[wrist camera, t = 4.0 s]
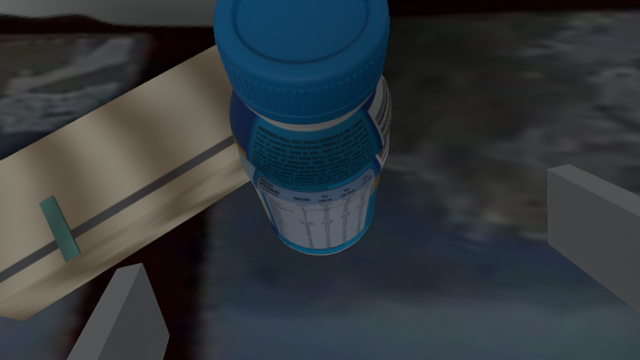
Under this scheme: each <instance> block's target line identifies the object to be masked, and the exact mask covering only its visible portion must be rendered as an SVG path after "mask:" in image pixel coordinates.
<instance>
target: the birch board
mask: <svg viewBox="0 0 640 360" xmlns="http://www.w3.org/2000/svg"><path fill="white" fill-rule="evenodd" d="M232 90H233V88H232V86H231V83H230V81H229V78H228V76H227V73H226V71H225V68H224V66H223V63H222V60H221V57H220V54H219V52H218V49H217V45H215V46H213V47H211V48H209V49H207V50H205V51H203V52H202V53H200V54H198V55H196V56H194V57H192V58H190V59H189V60H187V61H185V62H183V63H181V64H179V65H177V66H176V67H174V68H172V69H170V70H168V71H166V72H164V73H163V74H161V75H159V76H157V77H155V78H153V79H152V80H150V81H148V82H146V83H144V84H142V85H140V86H139V87H137V88H135V89H133V90H131V91H129V92H127V93H126V94H124V95H122V96H120V97H118V98H116V99H114V100H113V101H111V102H109V103H107V104H105V105H103V106H101V107H100V108H98V109H96V110H94V111H92V112H90V113H88V114H87V115H85V116H83V117H81V118H79V119H77V120H76V121H74V122H72V123H70V124H68V125H66V126H64V127H63V128H61V129H59V130H57V131H55V132H53V133H51V134H50V135H48V136H46V137H44V138H42V139H40V140H38V141H37V142H35V143H33V144H31V145H29V146H27V147H25V148H24V149H22V150H20V151H18V152H16V153H14V154H12V155H11V156H9V157H7V158H5V159H3V160H1V161H0V316H4V317H8V318H13V319H17V320H22V321H25V320H27V319H28V318H30V317H31V316H33V315H35V314H36V313H38V312H39V311H41V310H43V309H44V308H46V307H47V306H49V305H51V304H52V303H54V302H55V301H57V300H59V299H60V298H62V297H63V296H65V295H67V294H68V293H70V292H72V291H73V290H75V289H76V288H78V287H80V286H81V285H83V284H84V283H86V282H88V281H89V280H91V279H92V278H94V277H96V276H97V275H99V274H100V273H102V272H104V271H105V270H107V269H108V268H110V267H112V266H113V265H115V264H117V263H118V262H120V261H121V260H123V259H125V258H126V257H128V256H129V255H131V254H133V253H134V252H136V251H137V250H139V249H141V248H142V247H144V246H145V245H147V244H149V243H150V242H152V241H153V240H155V239H157V238H158V237H160V236H161V235H163V234H165V233H166V232H168V231H170V230H171V229H173V228H174V227H176V226H178V225H179V224H181V223H182V222H184V221H186V220H187V219H189V218H190V217H192V216H194V215H195V214H197V213H198V212H200V211H202V210H203V209H205V208H206V207H208V206H210V205H211V204H213V203H215V202H216V201H218V200H219V199H221V198H223V197H224V196H226V195H227V194H229V193H231V192H232V191H234V190H235V189H237V188H239V187H240V186H242V185H243V184H245V183H247V182H248V181H250V179H249V177H248V176H247V174H246V172H245V170H244V168H243V165H242V163H241V159H240V156H239V151H238V146H237V145H236V142H235V140H234V138H233V135H232V131H231V126H230V117H229V110H230V100H231V95H232Z"/></svg>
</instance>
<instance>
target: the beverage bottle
mask: <svg viewBox="0 0 640 360" xmlns="http://www.w3.org/2000/svg"><path fill="white" fill-rule="evenodd" d="M389 19H390V16H389V10H388V3H387V0H217V2H216V6H215V10H214V18H213V25H214V33H215V35H214V37H215V40H216V41H215V43H216V45H217V49H218V52H219V54H220V57H221V60H222V63H223V66H224V68H225V71H226V73H227V76H228V78H229V81H230V83H231V86H232V88H233V90H232V95H231V100H230V110H229V117H230V126H231V131H232V135H233V138H234V140H235V142H236V145H237V146H238V151H239V156H240V159H241V163H242V165H243V168H244V170H245V172H246V174H247V176H248V177H249V179H250V180H251V182H252V183H253V184H254V186H255V188H256V191H257V193H258V195H259V197H260V200H261V202H262V204H263V207H264V209H265V211H266V214H267V217H268V220H269V223H270V225H271V227H272V229H273V230H274V232H275V233H276V235H277V236H278V237H279V238H280V239H281V240H282V241H283V242H284V243H285V244H287V245H288V246H289V247H291V248H293V249H295V250H297V251H299V252H302V253H306V254H311V255H328V254H333V253H337V252H340V251H342V250H344V249H346V248H348V247H350V246H351V245H353V244H354V243H355V242H357V241H358V240H359V239H360V238H361V237H362V235H363V234H364V233H365V232H366V230H367V228H368V227H369V225H370V222H371V220H372V217H373V212H374V207H375V197H376V193H377V188H378V183H379V178H380V174H381V171H382V169H383V167H384V164H385V162H386V158H387V155H388V149H389V131H390V127H391V122H392V102H391V96H390V92H389V89H388V86H387V83H386V81H385V78H384V76H383V74H382V72H383V68H384V62H385V57H386V51H387V43H388V36H389V29H390V28H389V26H390V21H389Z"/></svg>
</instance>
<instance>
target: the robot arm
mask: <svg viewBox="0 0 640 360" xmlns="http://www.w3.org/2000/svg"><path fill="white" fill-rule="evenodd" d="M547 209H548V244H549V245H551V246H552V247H553V248H555V249H556V250H557V251H559V252H560V253H561V254H562V255H564V256H565V257H566V258H568V259H569V260H570V261H572V262H573V263H574V264H576V265H577V266H578V267H580V268H581V269H582V270H584V271H585V272H586V273H587V274H589V275H590V276H591V277H593V278H594V279H595V280H597V281H598V282H599V283H601V284H602V285H603V286H605V287H606V288H607V289H609V290H610V291H611V292H612V293H614V294H615V295H616V296H618V297H619V298H620V299H622V300H623V301H624V302H626V303H627V304H628V305H630V306H631V307H632V308H633V309H635V310H636V311H637V312H639V313H640V196H638V195H636V194H634V193H631V192H629V191H627V190H625V189H623V188H620V187H618V186H616V185H614V184H612V183H609V182H607V181H605V180H603V179H601V178H599V177H596V176H594V175H592V174H590V173H588V172H585V171H583V170H581V169H579V168H577V167H574V166H572V165H570V164H568V165H563V166H559V167H555V168H550V169H547ZM168 339H169V333H168V330H167V327H166V325H165V322H164V319H163V317H162V314H161V311H160V309H159V306H158V303H157V301H156V298H155V295H154V293H153V290H152V287H151V285H150V282H149V279H148V277H147V274H146V271H145V269H144V266H143V263H140V264H136V265H132V266H127V267H123V268H119V269H117V270H116V272H115V274H114V276H113V277H112V279H111V281H110V283H109V285H108V286H107V288H106V290H105V292H104V294H103V295H102V297H101V299H100V301H99V303H98V304H97V306H96V308H95V310H94V312H93V313H92V315H91V317H90V319H89V321H88V322H87V324H86V326H85V328H84V330H83V331H82V333H81V335H80V337H79V339H78V340H77V342H76V344H75V346H74V348H73V349H72V351H71V353H70V355H69V357H68V358H67V360H163V357H164V353H165V350H166V346H167V342H168Z"/></svg>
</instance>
